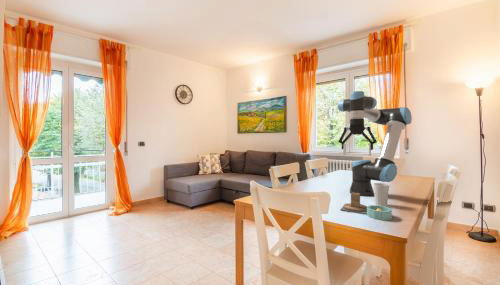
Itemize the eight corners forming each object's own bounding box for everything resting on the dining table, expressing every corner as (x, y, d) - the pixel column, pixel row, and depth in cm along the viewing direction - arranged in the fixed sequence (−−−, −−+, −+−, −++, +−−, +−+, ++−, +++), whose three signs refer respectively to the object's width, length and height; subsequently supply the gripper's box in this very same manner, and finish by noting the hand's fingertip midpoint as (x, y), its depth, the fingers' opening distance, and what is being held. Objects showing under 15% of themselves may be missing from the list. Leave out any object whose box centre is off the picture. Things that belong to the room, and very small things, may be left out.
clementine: (376, 213, 123) (376, 207, 123) (382, 214, 121) (382, 208, 121) (375, 214, 120) (375, 209, 120) (382, 216, 119) (382, 209, 119)
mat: (345, 204, 141) (345, 203, 141) (370, 208, 134) (370, 206, 134) (340, 210, 130) (340, 209, 130) (366, 214, 123) (366, 213, 123)
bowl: (368, 211, 128) (368, 204, 128) (392, 215, 122) (392, 207, 122) (365, 217, 119) (365, 209, 119) (391, 221, 113) (391, 213, 113)
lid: (346, 203, 141) (346, 190, 140) (369, 207, 134) (369, 192, 134) (341, 209, 131) (341, 194, 130) (365, 213, 124) (366, 197, 124)
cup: (391, 207, 135) (391, 186, 135) (375, 206, 137) (375, 185, 136) (386, 203, 143) (386, 183, 142) (371, 202, 144) (371, 182, 144)
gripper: (333, 119, 143) (333, 155, 144) (380, 117, 130) (380, 156, 130) (336, 119, 150) (336, 154, 150) (382, 117, 136) (381, 155, 137)
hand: (356, 155), depth 140 cm, fingers open, 13 cm apart
